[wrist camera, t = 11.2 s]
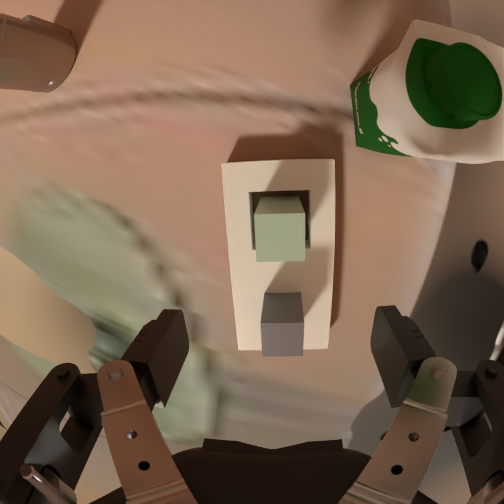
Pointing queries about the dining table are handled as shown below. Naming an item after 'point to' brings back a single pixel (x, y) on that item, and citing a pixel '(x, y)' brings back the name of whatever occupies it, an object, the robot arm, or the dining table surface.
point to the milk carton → (434, 98)
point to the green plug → (279, 229)
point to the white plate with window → (281, 273)
